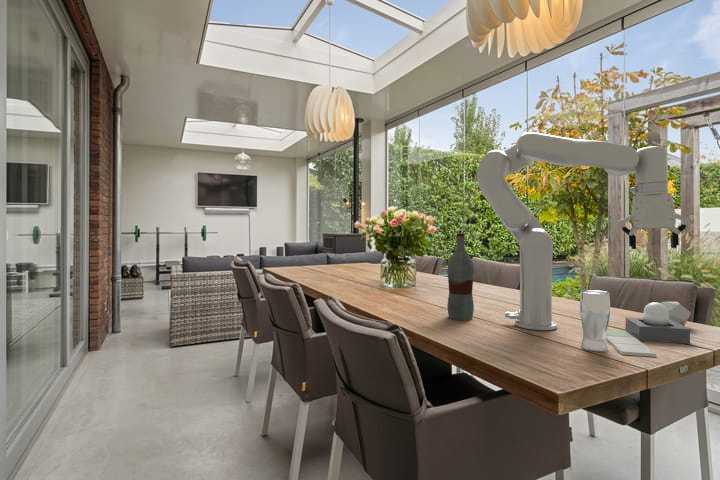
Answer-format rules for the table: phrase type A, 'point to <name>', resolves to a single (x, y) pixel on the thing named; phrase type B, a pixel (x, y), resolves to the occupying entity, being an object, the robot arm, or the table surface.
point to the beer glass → (594, 319)
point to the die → (677, 312)
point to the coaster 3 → (634, 350)
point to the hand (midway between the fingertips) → (653, 248)
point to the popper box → (658, 331)
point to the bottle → (460, 283)
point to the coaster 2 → (623, 340)
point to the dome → (656, 314)
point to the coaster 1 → (618, 333)
